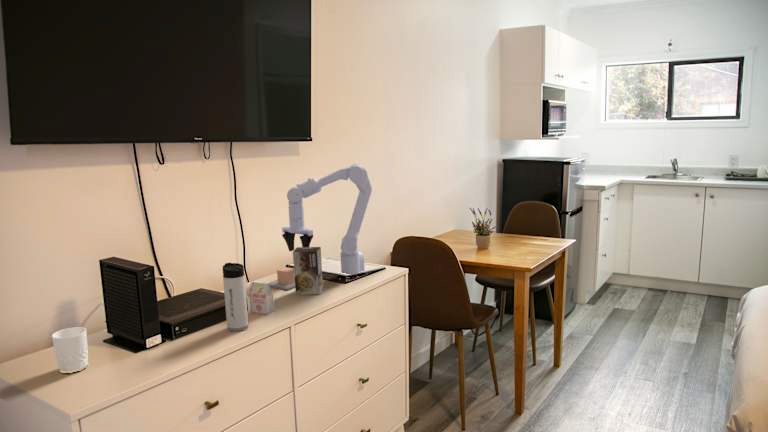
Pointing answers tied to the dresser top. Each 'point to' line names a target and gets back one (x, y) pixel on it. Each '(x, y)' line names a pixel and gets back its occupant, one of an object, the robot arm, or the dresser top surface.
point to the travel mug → (235, 296)
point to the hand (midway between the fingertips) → (298, 251)
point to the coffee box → (308, 270)
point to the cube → (286, 276)
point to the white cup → (71, 348)
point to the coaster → (281, 285)
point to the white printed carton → (261, 298)
